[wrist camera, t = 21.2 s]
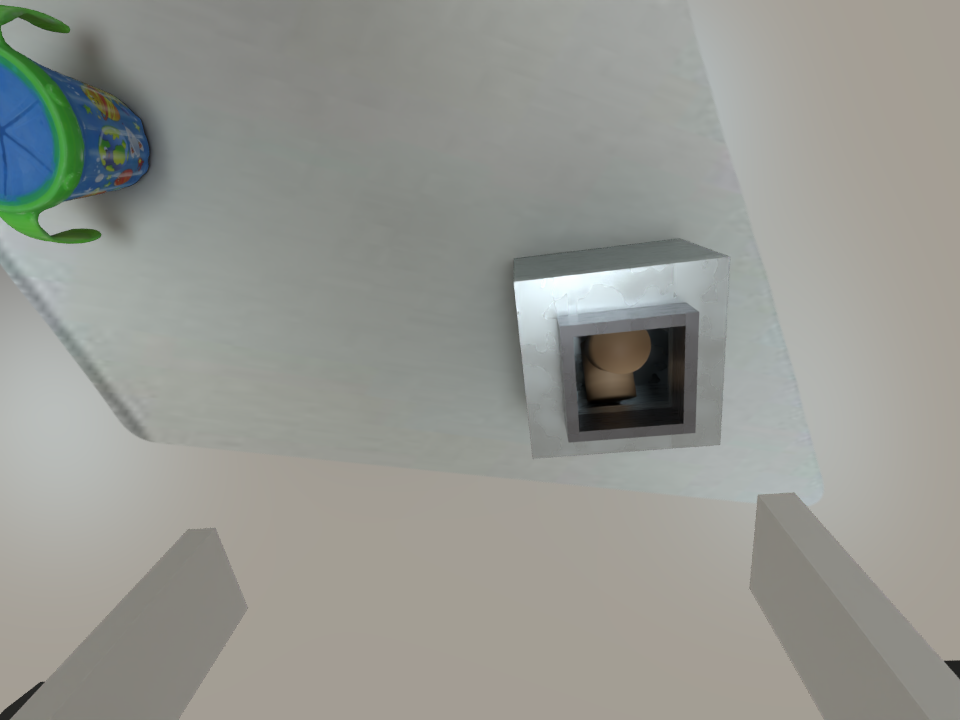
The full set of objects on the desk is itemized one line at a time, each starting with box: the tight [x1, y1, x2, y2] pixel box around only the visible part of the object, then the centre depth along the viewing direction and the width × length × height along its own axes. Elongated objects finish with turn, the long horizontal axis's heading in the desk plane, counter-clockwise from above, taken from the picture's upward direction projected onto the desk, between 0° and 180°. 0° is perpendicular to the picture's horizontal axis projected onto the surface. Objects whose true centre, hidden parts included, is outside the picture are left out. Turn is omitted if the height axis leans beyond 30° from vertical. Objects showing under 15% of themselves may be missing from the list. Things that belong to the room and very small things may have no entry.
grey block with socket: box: [514, 239, 730, 459], centre depth 37 cm, size 14×14×12 cm
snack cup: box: [0, 5, 149, 244], centre depth 35 cm, size 16×10×10 cm
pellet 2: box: [580, 341, 637, 403], centre depth 40 cm, size 4×4×5 cm
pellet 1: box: [584, 330, 651, 374], centre depth 35 cm, size 4×4×5 cm
